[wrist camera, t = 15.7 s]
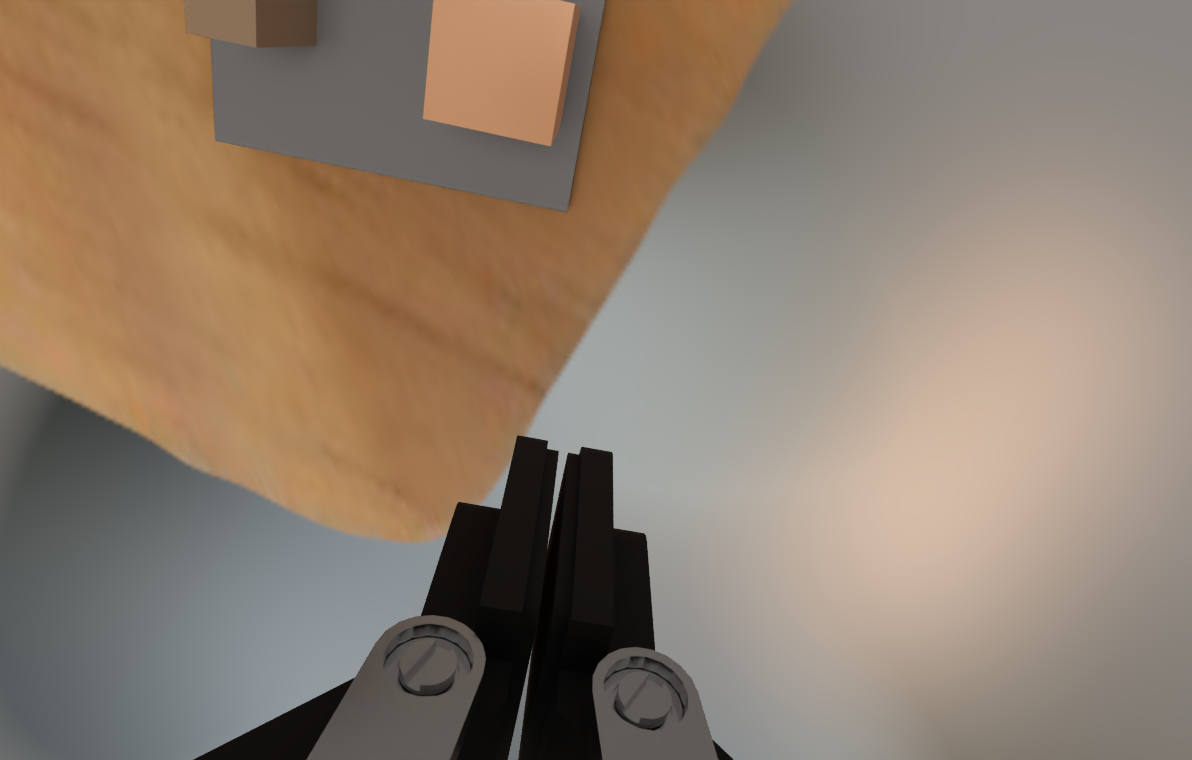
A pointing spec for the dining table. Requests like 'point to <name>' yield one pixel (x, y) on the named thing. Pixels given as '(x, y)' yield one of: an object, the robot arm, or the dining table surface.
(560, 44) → the tan cardboard box
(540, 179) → the post stand
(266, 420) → the dining table surface
